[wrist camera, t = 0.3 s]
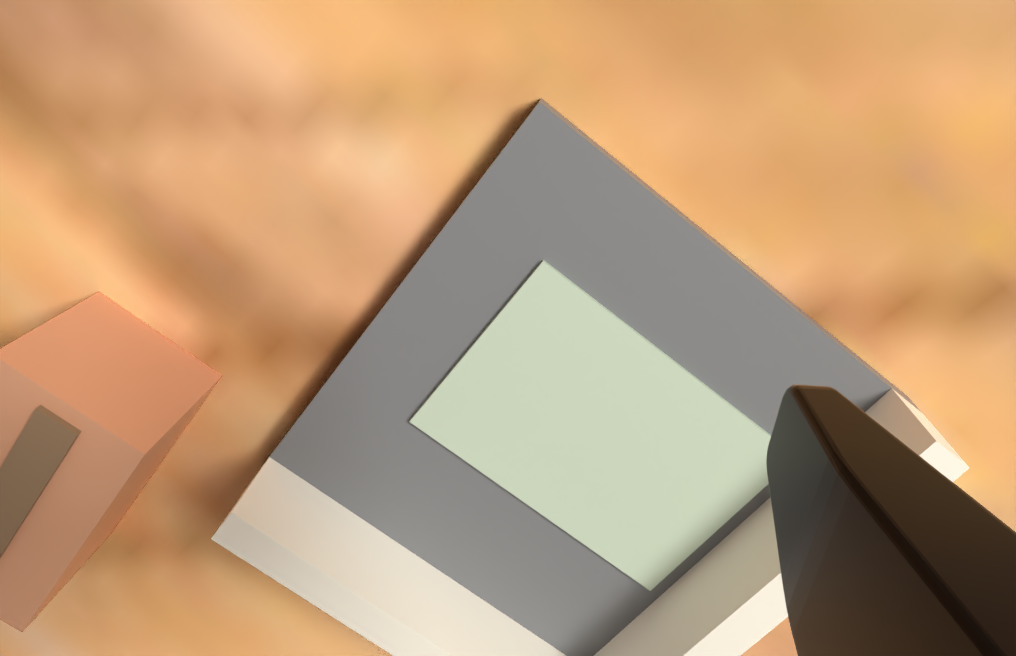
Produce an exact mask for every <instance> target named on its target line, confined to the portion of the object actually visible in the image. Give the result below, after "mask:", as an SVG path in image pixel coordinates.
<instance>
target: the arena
mask: <svg viewBox="0 0 1016 656" xmlns="http://www.w3.org/2000/svg"><path fill="white" fill-rule="evenodd" d="M792 385H812V386H828V387H831V388H834V389H835V390H837V391H838V392H840V393H841V394H842V395H843V396H845V397H846V398H847V399H849V400H850V401H851V402H852V403H854V404H855V405H856V406H857V407H859V408H860V409H861V410H862V411H864V412H865V413H866V414H867V415H869V416H870V417H871V418H872V419H874V420H875V421H876V422H877V423H879V424H880V425H881V426H883V427H884V428H885V429H886V430H888V431H889V432H890V433H891V434H893V435H894V436H895V437H896V438H898V439H899V440H900V441H901V442H903V443H904V444H905V445H906V446H908V447H909V448H910V449H911V450H913V451H914V452H915V453H917V454H918V455H919V456H920V457H922V458H923V459H924V460H925V461H927V462H928V463H929V464H930V465H932V466H933V467H934V468H935V469H937V470H938V471H939V472H940V473H942V474H943V475H944V476H945V477H947V478H948V479H949V480H951V481H952V482H953V481H954V480H956V479H957V478H958V477H959V476H960V475H962V474H963V473H964V472H965V471H967V470H968V469H969V467H968V465H967V464H966V463H965V462H964V461H963V460H962V458H961V457H960V456H959V455H958V454H957V453H956V452H955V450H954V449H953V448H952V447H951V446H950V445H949V444H948V442H947V441H946V440H945V439H944V438H943V437H942V435H941V434H940V433H939V432H938V431H937V430H936V429H935V427H934V426H933V425H932V424H931V423H930V422H929V421H928V419H927V418H926V417H925V416H924V415H923V414H922V412H921V411H920V410H919V409H918V408H917V407H916V406H915V404H914V403H913V402H912V401H911V400H910V399H909V398H908V396H906V395H905V394H904V393H903V392H901V391H900V390H899V389H898V388H896V387H895V386H894V385H893V384H892V383H890V382H889V381H888V380H887V379H885V378H884V377H883V376H882V375H880V374H879V373H878V372H877V371H876V370H874V369H873V368H872V367H871V366H869V365H868V364H867V363H866V362H865V361H863V360H862V359H861V358H860V357H858V356H857V355H856V354H855V353H853V352H852V351H851V350H850V349H849V348H847V347H846V346H845V345H844V344H842V343H841V342H840V341H839V340H838V339H836V338H835V337H834V336H833V335H831V334H830V333H829V332H828V331H826V330H825V329H824V328H823V327H822V326H820V325H819V324H818V323H817V322H815V321H814V320H813V319H812V318H810V317H809V316H808V315H807V314H806V313H804V312H803V311H802V310H801V309H799V308H798V307H797V306H796V305H795V304H793V303H792V302H791V301H790V300H788V299H787V298H786V297H785V296H783V295H782V294H781V293H780V292H779V291H777V290H776V289H775V288H774V287H772V286H771V285H770V284H769V283H768V282H766V281H765V280H764V279H763V278H761V277H760V276H759V275H758V274H756V273H755V272H754V271H753V270H752V269H750V268H749V267H748V266H747V265H745V264H744V263H743V262H742V261H741V260H739V259H738V258H737V257H736V256H734V255H733V254H732V253H731V252H729V251H728V250H727V249H726V248H725V247H723V246H722V245H721V244H720V243H718V242H717V241H716V240H715V239H713V238H712V237H711V236H710V235H709V234H707V233H706V232H705V231H704V230H702V229H701V228H700V227H699V226H698V225H696V224H695V223H694V222H693V221H691V220H690V219H689V218H688V217H686V216H685V215H684V214H683V213H682V212H680V211H679V210H678V209H677V208H675V207H674V206H673V205H672V204H671V203H669V202H668V201H667V200H666V199H664V198H663V197H662V196H661V195H659V194H658V193H657V192H656V191H655V190H653V189H652V188H651V187H650V186H648V185H647V184H646V183H645V182H644V181H642V180H641V179H640V178H639V177H637V176H636V175H635V174H634V173H632V172H631V171H630V170H629V169H628V168H626V167H625V166H624V165H623V164H621V163H620V162H619V161H618V160H616V159H615V158H614V157H613V156H612V155H610V154H609V153H608V152H607V151H605V150H604V149H603V148H602V147H601V146H599V145H598V144H597V143H596V142H594V141H593V140H592V139H591V138H589V137H588V136H587V135H586V134H585V133H583V132H582V131H581V130H580V129H578V128H577V127H576V126H575V125H574V124H572V123H571V122H570V121H569V120H567V119H566V118H565V117H564V116H562V115H561V114H560V113H559V112H558V111H556V110H555V109H554V108H553V107H551V106H550V105H549V104H548V103H546V102H545V101H544V100H543V99H542V98H541V99H540V100H539V102H538V103H537V104H536V106H535V107H534V108H533V110H532V111H531V112H530V114H529V115H528V116H527V117H526V119H525V120H524V121H523V123H522V124H521V125H520V127H519V128H518V129H517V131H516V132H515V133H514V135H513V136H512V137H511V139H510V140H509V141H508V142H507V144H506V145H505V146H504V148H503V149H502V150H501V152H500V153H499V154H498V156H497V157H496V158H495V160H494V161H493V162H492V164H491V165H490V166H489V167H488V169H487V170H486V171H485V173H484V174H483V175H482V177H481V178H480V179H479V181H478V182H477V183H476V185H475V186H474V187H473V189H472V190H471V191H470V192H469V194H468V195H467V196H466V198H465V199H464V200H463V202H462V203H461V204H460V206H459V207H458V208H457V210H456V211H455V212H454V214H453V215H452V216H451V217H450V219H449V220H448V221H447V223H446V224H445V225H444V227H443V228H442V229H441V231H440V232H439V233H438V235H437V236H436V237H435V239H434V240H433V241H432V242H431V244H430V245H429V246H428V248H427V249H426V250H425V252H424V253H423V254H422V256H421V257H420V258H419V260H418V261H417V262H416V264H415V265H414V266H413V267H412V269H411V270H410V271H409V273H408V274H407V275H406V277H405V278H404V279H403V281H402V282H401V283H400V285H399V286H398V287H397V289H396V290H395V291H394V292H393V294H392V295H391V296H390V298H389V299H388V300H387V302H386V303H385V304H384V306H383V307H382V308H381V310H380V311H379V312H378V314H377V315H376V316H375V317H374V319H373V320H372V321H371V323H370V324H369V325H368V327H367V328H366V329H365V331H364V332H363V333H362V335H361V336H360V337H359V339H358V340H357V341H356V342H355V344H354V345H353V346H352V348H351V349H350V350H349V352H348V353H347V354H346V356H345V357H344V358H343V360H342V361H341V362H340V364H339V365H338V366H337V367H336V369H335V370H334V371H333V373H332V374H331V375H330V377H329V378H328V379H327V381H326V382H325V383H324V385H323V386H322V387H321V389H320V390H319V391H318V392H317V394H316V395H315V396H314V398H313V399H312V400H311V402H310V403H309V404H308V406H307V407H306V408H305V410H304V411H303V412H302V414H301V415H300V416H299V417H298V419H297V420H296V421H295V423H294V424H293V425H292V427H291V428H290V429H289V431H288V432H287V433H286V435H285V436H284V437H283V439H282V440H281V441H280V442H279V444H278V445H277V446H276V448H275V449H274V450H273V452H272V453H271V454H270V456H269V457H268V458H267V460H266V461H265V462H264V464H263V465H262V466H261V468H260V469H259V471H258V472H257V473H256V475H255V476H254V478H253V479H252V481H251V482H250V483H249V485H248V486H247V488H246V489H245V491H244V492H243V493H242V495H241V496H240V498H239V499H238V501H237V502H236V503H235V505H234V506H233V508H232V509H231V511H230V512H229V514H228V515H227V516H226V518H225V519H224V521H223V522H222V524H221V525H220V526H219V528H218V529H217V531H216V532H215V534H214V535H213V536H212V538H211V540H213V541H214V542H216V543H218V544H219V545H221V546H222V547H224V548H225V549H227V550H229V551H230V552H232V553H233V554H235V555H236V556H238V557H240V558H241V559H243V560H244V561H246V562H247V563H249V564H250V565H252V566H254V567H255V568H257V569H258V570H260V571H261V572H263V573H265V574H266V575H268V576H269V577H271V578H272V579H274V580H276V581H277V582H279V583H280V584H282V585H283V586H285V587H286V588H288V589H290V590H291V591H293V592H294V593H296V594H297V595H299V596H301V597H302V598H304V599H305V600H307V601H308V602H310V603H312V604H313V605H315V606H316V607H318V608H319V609H321V610H322V611H324V612H326V613H327V614H329V615H330V616H332V617H333V618H335V619H337V620H338V621H340V622H341V623H343V624H344V625H346V626H348V627H349V628H351V629H352V630H354V631H355V632H357V633H358V634H360V635H362V636H363V637H365V638H366V639H368V640H369V641H371V642H373V643H374V644H376V645H377V646H379V647H380V648H382V649H384V650H385V651H387V652H388V653H390V654H391V655H393V656H740V655H742V654H743V653H744V652H745V651H747V650H748V649H749V648H750V647H751V646H753V645H754V644H755V643H756V642H758V641H759V640H760V639H761V638H762V637H764V636H765V635H766V634H767V633H769V632H770V631H771V630H772V629H773V628H775V627H776V626H777V625H778V624H780V623H781V622H782V621H783V620H784V619H786V618H787V617H788V613H787V608H786V602H785V596H784V590H783V583H782V576H781V569H780V562H779V555H778V548H777V540H776V533H775V526H774V519H773V512H772V505H771V498H770V490H769V483H768V476H767V467H766V458H767V449H768V445H769V441H770V438H771V434H772V431H773V427H774V424H775V421H776V417H777V414H778V411H779V407H780V404H781V400H782V397H783V395H784V393H785V391H786V390H787V388H789V387H791V386H792Z"/></svg>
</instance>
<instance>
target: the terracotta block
mask: <svg viewBox="0 0 1016 656" xmlns="http://www.w3.org/2000/svg"><path fill="white" fill-rule="evenodd" d="M221 377H222V375H220V374H219V373H217V372H216V371H214V370H213V369H212V368H210V367H209V366H207V365H206V364H204V363H203V362H201V361H200V360H198V359H197V358H196V357H194V356H193V355H191V354H190V353H188V352H187V351H185V350H184V349H182V348H181V347H180V346H178V345H177V344H175V343H174V342H172V341H171V340H169V339H168V338H166V337H165V336H164V335H162V334H161V333H159V332H158V331H156V330H155V329H153V328H152V327H151V326H149V325H148V324H146V323H145V322H143V321H142V320H140V319H139V318H137V317H136V316H135V315H133V314H132V313H130V312H129V311H127V310H126V309H124V308H123V307H121V306H120V305H119V304H117V303H116V302H114V301H113V300H111V299H110V298H108V297H107V296H105V295H104V294H103V293H101V292H100V291H99V292H97V293H96V294H94V295H92V296H90V297H89V298H87V299H85V300H84V301H82V302H80V303H78V304H77V305H75V306H73V307H71V308H70V309H68V310H66V311H64V312H63V313H61V314H59V315H58V316H56V317H54V318H52V319H51V320H49V321H47V322H45V323H44V324H42V325H40V326H39V327H37V328H35V329H33V330H32V331H30V332H28V333H26V334H25V335H23V336H21V337H20V338H18V339H16V340H14V341H13V342H11V343H9V344H7V345H6V346H4V347H2V348H1V349H0V619H1V620H2V621H4V622H6V623H7V624H9V625H11V626H12V627H14V628H16V629H18V630H19V631H21V632H23V631H24V630H25V629H26V628H27V626H28V625H29V624H30V623H31V622H32V621H33V620H34V619H35V618H36V616H37V615H38V614H39V613H40V612H41V611H42V610H43V609H44V608H45V606H46V605H47V604H48V603H49V602H50V601H51V600H52V599H53V597H54V596H55V595H56V594H57V593H58V592H59V591H60V590H61V589H62V587H63V586H64V585H65V584H66V583H67V582H68V581H69V580H70V579H71V577H72V576H73V575H74V574H75V573H76V572H77V571H78V570H79V569H80V567H81V566H82V565H83V564H84V563H85V562H86V561H87V560H88V559H89V557H90V556H91V555H92V554H93V553H94V552H95V551H96V550H97V549H98V547H99V546H100V545H101V544H102V543H103V542H104V541H105V540H106V539H107V537H108V536H109V535H110V534H111V533H112V532H113V530H114V529H115V527H116V526H117V525H118V523H119V522H120V520H121V519H122V517H123V516H124V515H125V513H126V512H127V510H128V509H129V507H130V506H131V505H132V503H133V502H134V500H135V499H136V498H137V496H138V495H139V493H140V492H141V490H142V489H143V488H144V486H145V485H146V483H147V482H148V480H149V479H150V478H151V476H152V475H153V473H154V472H155V471H156V469H157V468H158V466H159V465H160V463H161V462H162V461H163V459H164V458H165V456H166V455H167V453H168V452H169V451H170V449H171V448H172V446H173V445H174V444H175V442H176V441H177V439H178V438H179V436H180V435H181V434H182V432H183V431H184V429H185V428H186V426H187V425H188V424H189V422H190V421H191V419H192V418H193V416H194V415H195V414H196V412H197V411H198V409H199V408H200V407H201V405H202V404H203V402H204V401H205V399H206V398H207V397H208V395H209V394H210V392H211V391H212V389H213V388H214V387H215V385H216V384H217V382H218V381H219V380H220V378H221Z"/></svg>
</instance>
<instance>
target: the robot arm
mask: <svg viewBox="0 0 1016 656" xmlns="http://www.w3.org/2000/svg"><path fill="white" fill-rule="evenodd" d="M766 467H767V476H768V483H769V490H770V498H771V505H772V512H773V519H774V526H775V533H776V540H777V548H778V555H779V562H780V569H781V576H782V583H783V590H784V596H785V602H786V608H787V613H788V617H789V622H790V626H791V630H792V635H793V638H794V642H795V646H796V650H797V654H798V656H1016V532H1015V531H1013V530H1012V529H1011V528H1010V527H1008V526H1007V525H1006V524H1005V523H1003V522H1002V521H1001V520H1000V519H998V518H997V517H996V516H995V515H993V514H992V513H991V512H990V511H988V510H987V509H986V508H985V507H983V506H982V505H981V504H979V503H978V502H977V501H976V500H974V499H973V498H972V497H971V496H969V495H968V494H967V493H966V492H964V491H963V490H962V489H961V488H959V487H958V486H957V485H956V484H954V483H953V482H952V481H951V480H949V479H948V478H947V477H945V476H944V475H943V474H942V473H940V472H939V471H938V470H937V469H935V468H934V467H933V466H932V465H930V464H929V463H928V462H927V461H925V460H924V459H923V458H922V457H920V456H919V455H918V454H917V453H915V452H914V451H913V450H911V449H910V448H909V447H908V446H906V445H905V444H904V443H903V442H901V441H900V440H899V439H898V438H896V437H895V436H894V435H893V434H891V433H890V432H889V431H888V430H886V429H885V428H884V427H883V426H881V425H880V424H879V423H877V422H876V421H875V420H874V419H872V418H871V417H870V416H869V415H867V414H866V413H865V412H864V411H862V410H861V409H860V408H859V407H857V406H856V405H855V404H854V403H852V402H851V401H850V400H849V399H847V398H846V397H845V396H843V395H842V394H841V393H840V392H838V391H837V390H835V389H834V388H831V387H828V386H812V385H792V386H791V387H789V388H787V390H786V391H785V393H784V395H783V397H782V400H781V404H780V407H779V411H778V414H777V417H776V421H775V424H774V427H773V431H772V434H771V438H770V441H769V445H768V449H767V458H766Z"/></svg>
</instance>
